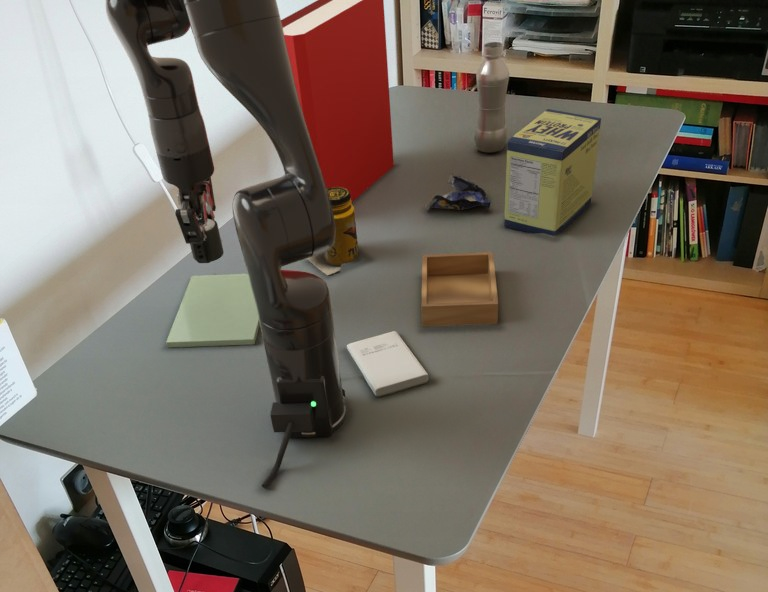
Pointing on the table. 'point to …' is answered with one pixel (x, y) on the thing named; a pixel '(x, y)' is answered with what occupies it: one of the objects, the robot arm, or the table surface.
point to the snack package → (460, 196)
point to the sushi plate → (216, 313)
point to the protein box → (550, 171)
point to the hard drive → (387, 363)
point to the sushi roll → (212, 240)
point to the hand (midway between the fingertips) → (207, 252)
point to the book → (343, 88)
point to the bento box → (459, 289)
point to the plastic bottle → (491, 99)
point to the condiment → (339, 233)
